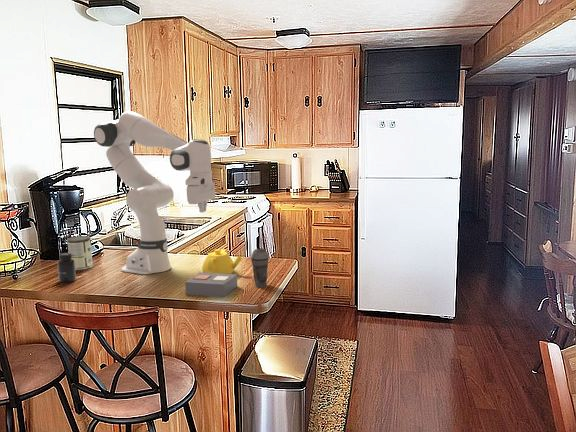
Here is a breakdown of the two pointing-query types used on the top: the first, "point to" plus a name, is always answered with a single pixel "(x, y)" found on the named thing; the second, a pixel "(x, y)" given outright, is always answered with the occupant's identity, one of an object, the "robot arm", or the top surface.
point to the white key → (220, 278)
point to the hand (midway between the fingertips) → (202, 211)
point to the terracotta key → (202, 277)
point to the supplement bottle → (66, 268)
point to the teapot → (220, 262)
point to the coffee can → (80, 251)
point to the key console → (211, 285)
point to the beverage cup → (260, 266)
